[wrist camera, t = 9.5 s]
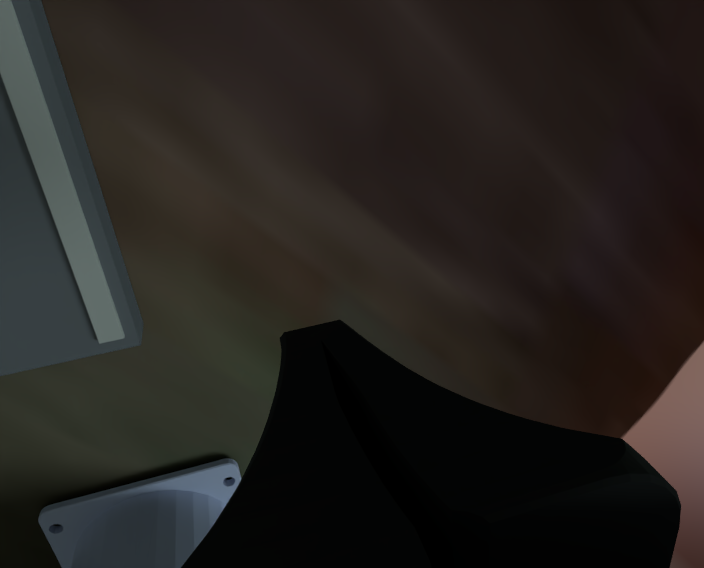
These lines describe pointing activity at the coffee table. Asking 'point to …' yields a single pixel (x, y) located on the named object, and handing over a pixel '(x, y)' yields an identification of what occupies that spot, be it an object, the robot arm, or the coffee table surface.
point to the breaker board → (52, 214)
